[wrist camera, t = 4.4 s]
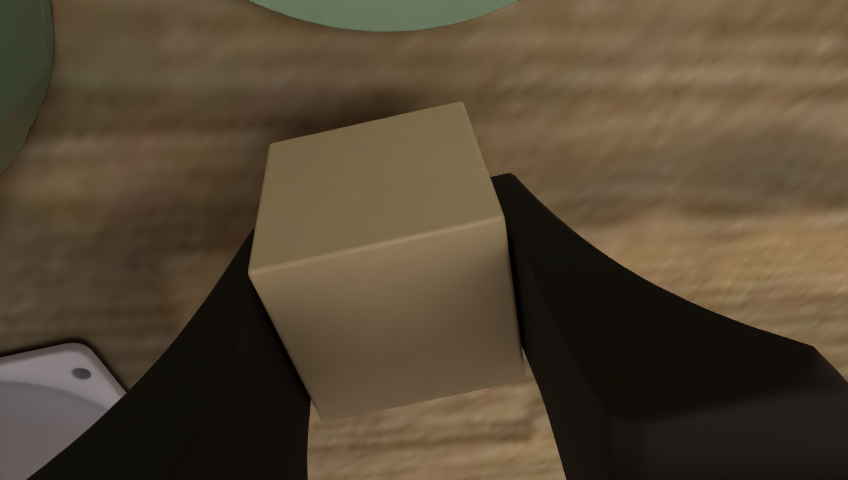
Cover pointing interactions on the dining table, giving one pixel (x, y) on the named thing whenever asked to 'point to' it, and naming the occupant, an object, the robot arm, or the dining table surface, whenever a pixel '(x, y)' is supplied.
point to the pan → (22, 70)
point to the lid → (384, 12)
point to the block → (387, 263)
